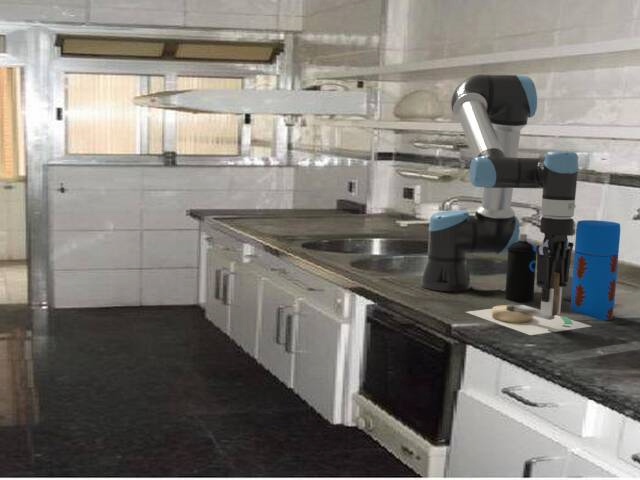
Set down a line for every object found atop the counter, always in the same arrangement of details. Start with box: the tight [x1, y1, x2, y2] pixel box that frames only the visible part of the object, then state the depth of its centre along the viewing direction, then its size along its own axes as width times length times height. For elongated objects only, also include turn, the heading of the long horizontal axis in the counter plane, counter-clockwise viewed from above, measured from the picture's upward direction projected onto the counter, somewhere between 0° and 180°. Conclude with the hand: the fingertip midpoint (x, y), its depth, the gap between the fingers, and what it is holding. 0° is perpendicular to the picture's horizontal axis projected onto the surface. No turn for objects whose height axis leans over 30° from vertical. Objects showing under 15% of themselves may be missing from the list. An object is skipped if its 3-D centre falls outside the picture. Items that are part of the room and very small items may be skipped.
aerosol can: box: [504, 232, 537, 303], centre depth 217 cm, size 8×8×20 cm
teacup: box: [561, 268, 573, 301], centre depth 226 cm, size 14×11×8 cm
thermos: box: [570, 219, 621, 322], centre depth 205 cm, size 11×11×25 cm
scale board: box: [465, 304, 592, 336], centre depth 196 cm, size 24×21×2 cm
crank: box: [491, 272, 560, 323], centre depth 192 cm, size 18×10×13 cm, turn 39°
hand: (550, 313), depth 187 cm, fingers closed on crank, 3 cm apart
